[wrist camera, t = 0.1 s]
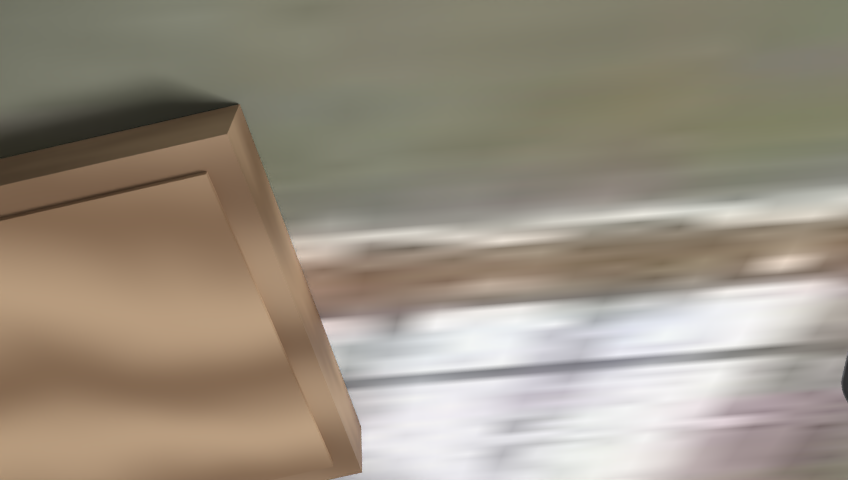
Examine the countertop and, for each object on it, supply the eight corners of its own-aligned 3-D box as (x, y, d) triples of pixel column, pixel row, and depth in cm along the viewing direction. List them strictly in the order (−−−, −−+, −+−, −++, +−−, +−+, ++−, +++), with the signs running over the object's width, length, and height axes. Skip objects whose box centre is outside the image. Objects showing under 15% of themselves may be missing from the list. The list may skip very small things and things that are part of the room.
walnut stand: (360, 426, 29) (362, 476, 27) (28, 499, 30) (1, 554, 27) (239, 104, 21) (226, 136, 18) (-229, 211, 21) (-299, 256, 19)
